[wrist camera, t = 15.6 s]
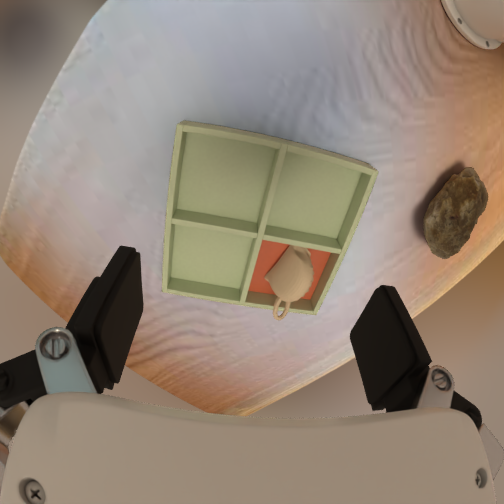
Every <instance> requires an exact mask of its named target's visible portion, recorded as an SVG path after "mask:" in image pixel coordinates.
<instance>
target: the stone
mask: <svg viewBox="0 0 504 504" xmlns="http://www.w3.org/2000/svg"><path fill="white" fill-rule="evenodd" d="M487 201H488V193H487V190H486V188H485V185H484V183H483V182H482V181H481V180H480V179H479V176H478V174H477V173H476V171H475V170H474V168H472V167H467V168H465V169H464V170H463V171H461V172H460V174H459V175H454V174H453V175H452V176H451V178H450V179H449V180H448V181H447V182H446V183H445V184H444V187H443V188H442V189H441V191H440V192H438V194H437V195H436V197H435V198H434V199H433V200H432V201H431V202H430V203H429V206H428V210H427V211H426V213H425V216H424V219H423V220H424V228H423V230H424V236H425V238H426V240H427V242H428V245H429V247H430V249H431V251H432V253H433V254H435V255H436V256H438V257H441V258H442V259H447V258H449V257H450V256H452V255H454V254H456V253H458V252H459V251H460V249H461V247H462V246H463V245H464V244H465V243H466V242H467V241H468V240H469V238H470V234H471V232H472V230H473V228H474V226H475V224H477V220H478V218H479V216H480V215H482V213H483V212H484V210H485V208H486V205H487Z"/></svg>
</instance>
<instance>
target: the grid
mask: <svg viewBox="0 0 504 504" xmlns="http://www.w3.org/2000/svg"><path fill="white" fill-rule="evenodd" d="M377 175H378V171H377V170H376V169H375V168H373V167H372V166H371V165H369V164H368V163H365V162H362V161H359V160H356V159H353V158H350V157H347V156H343V155H340V154H337V153H333V152H330V151H327V150H323V149H320V148H316V147H313V146H309V145H305V144H301V143H297V142H294V141H290V140H285V139H281V138H277V137H273V136H268V135H264V134H259V133H254V132H250V131H245V130H239V129H234V128H229V127H223V126H217V125H211V124H205V123H198V122H191V121H182V122H180V123H178V124H177V127H176V134H175V140H174V147H173V155H172V162H171V171H170V179H169V188H168V198H167V209H166V221H165V235H164V251H163V273H162V292H165V293H170V294H176V295H181V296H187V297H193V298H198V299H204V300H210V301H216V302H223V303H229V304H236V305H243V306H249V307H256V308H263V309H270V310H273V308H274V304H275V301H276V299H277V298H278V296H277V295H276V294H275V293H274V291H273V290H272V288H271V286H270V283H269V282H268V281H267V280H266V279H265V278H264V277H265V275H266V274H267V273H268V272H269V271H270V270H271V269H272V268H273V267H274V266H275V265H276V264H277V262H278V261H279V260H280V258H281V257H282V256H283V254H284V253H285V251H286V250H287V249H288V247H289V246H290V245H294V246H299V247H305V248H307V249H308V251H309V252H310V253H311V256H310V258H311V263H312V265H313V271H314V275H313V282H312V285H311V287H310V288H309V291H308V292H306V293H305V296H304V297H301V298H300V299H299V300H298V301H293V302H291V304H290V307H289V310H288V312H293V313H301V314H310V315H316V314H317V312H318V310H319V308H320V306H321V304H322V302H323V300H324V298H325V296H326V294H327V292H328V290H329V288H330V286H331V284H332V282H333V280H334V278H335V275H336V273H337V271H338V269H339V267H340V265H341V262H342V260H343V258H344V256H345V253H346V251H347V249H348V247H349V244H350V242H351V240H352V237H353V235H354V233H355V230H356V228H357V226H358V223H359V221H360V218H361V216H362V213H363V211H364V208H365V206H366V203H367V201H368V198H369V196H370V193H371V191H372V188H373V185H374V183H375V180H376V177H377ZM285 305H286V302H285V301H283V300H282V301H281V302H280V304H279V307H278V311H284V309H285Z"/></svg>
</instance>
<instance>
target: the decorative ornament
mask: <svg viewBox="0 0 504 504" xmlns="http://www.w3.org/2000/svg"><path fill="white" fill-rule="evenodd" d="M310 256H311V253H310V252H309V251H308V249H307V248H305V247H299V246H294V245H290V246H289V247H288V249H287V250H286V251H285V253H284V254H283V256H282V257H281V258H280V260H279V261H278V262H277V264H276V265H275V266H274V267H273V268H272V269H271V270H270V271H269V272H268V273H267V274H266V275H265V277H264V278H265V279H266V280H267V281H268V282H269V283H270V286H271V288H272V290H273V291H274V293H275V294H276V295H277V296H278V298H277V299H276V301H275V304H274V308H273V315H274V318H275V319H276V320H281V319H283V318H284V317H285V316H286V314H287V312H288V310H289V307H290V304H291V302H293V301H298V300H299V299H300V298H301V297H304V296H305V293H306V292H308V291H309V288H310V287H311V285H312V282H313V275H314V271H313V265H312V263H311V258H310ZM282 300H283V301H285V302H286V305H285V309H284V311H283V313H282V314H281V315H280V316H278V315H277V311H278V307H279V304H280V302H281V301H282Z"/></svg>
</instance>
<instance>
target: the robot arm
mask: <svg viewBox="0 0 504 504" xmlns="http://www.w3.org/2000/svg"><path fill="white" fill-rule="evenodd" d="M441 2H442V5H443V7H444V9H445V11H446V13H447V15H448V17H449V18H450V20H451V22H452V23H453V24H454V26H455V27H456V28H457V30H458V31H459V32H460V33H461V34H462V35H463V36H464V37H465V38H466V39H467V40H468V41H469V42H471V43H472V44H474V45H475V46H477V47H479V48H482V49H496V48H498V47H499V46H500V45H501V43H502V42H504V0H441ZM142 312H143V294H142V280H141V261H140V253H138V252H136V249H135V248H133V247H127V246H120V247H119V248H118V250H117V251H116V253H115V254H114V256H113V257H112V259H111V261H110V262H109V264H108V265H107V267H106V269H105V270H104V272H103V274H102V275H101V277H95V278H94V279H93V281H92V282H91V284H90V285H89V287H88V289H87V291H86V292H85V294H84V296H83V297H82V299H81V301H80V303H79V304H78V306H77V308H76V310H75V311H74V313H73V315H72V317H71V319H70V321H69V322H68V324H67V326H66V328H65V329H64V328H61V327H54V328H50V329H47V330H46V331H44V332H43V333H42V334H40V336H39V337H38V339H37V341H36V345H35V350H33V351H30V352H28V353H26V354H23V355H21V356H18V357H16V358H14V359H11V360H8V361H6V362H4V363H1V364H0V504H497V502H496V495H495V490H494V485H493V480H494V478H495V477H496V475H497V473H498V471H499V468H500V467H501V464H502V463H503V460H504V449H503V447H502V446H501V444H500V443H499V442H498V441H497V439H496V438H495V437H494V436H493V434H492V433H491V432H490V430H489V429H488V428H487V427H486V426H485V424H482V418H481V414H480V411H479V410H478V408H477V407H476V406H475V405H473V404H472V403H470V402H469V401H468V400H466V399H465V398H464V397H462V396H461V395H459V394H458V393H457V392H455V391H454V380H453V377H452V375H451V374H450V373H449V371H448V370H446V369H445V368H444V367H442V366H438V365H436V366H432V367H431V368H429V366H428V365H429V364H430V363H431V362H432V360H431V358H430V356H429V354H428V351H427V349H426V347H425V345H424V343H423V341H422V339H421V337H420V335H419V333H418V331H417V329H416V326H415V325H414V323H413V321H412V319H411V317H410V315H409V313H408V311H407V309H406V307H405V305H404V303H403V301H402V300H401V298H400V296H399V294H398V292H397V290H396V289H395V287H393V286H386V285H381V286H380V287H379V288H377V289H375V291H374V293H373V295H372V296H371V298H370V300H369V302H368V303H367V305H366V307H365V309H364V310H363V312H362V314H361V315H360V317H359V319H358V320H357V322H356V324H355V325H354V327H353V329H352V330H351V333H350V340H351V343H352V347H353V350H354V353H355V357H356V360H357V364H358V367H359V370H360V374H361V378H362V381H363V385H364V389H365V392H366V396H367V400H368V403H369V404H371V406H372V410H373V411H375V410H383V409H384V408H386V413H380V414H371V415H361V416H348V417H332V418H262V417H245V416H232V415H221V414H212V413H204V412H196V411H189V410H182V409H177V408H170V407H165V406H159V405H153V404H148V403H143V402H139V401H134V400H129V399H124V398H119V397H114V396H109V395H103V394H101V393H103V390H104V388H107V389H111V390H112V389H113V386H114V383H119V381H120V378H121V375H122V371H123V369H124V365H125V362H126V359H127V356H128V353H129V350H130V347H131V344H132V341H133V338H134V335H135V332H136V329H137V326H138V324H139V321H140V318H141V315H142ZM481 424H482V425H481ZM16 430H17V431H16ZM13 436H14V439H13V442H12V445H11V449H10V452H9V449H8V446H9V442H10V440H11V439H12V437H13Z"/></svg>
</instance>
